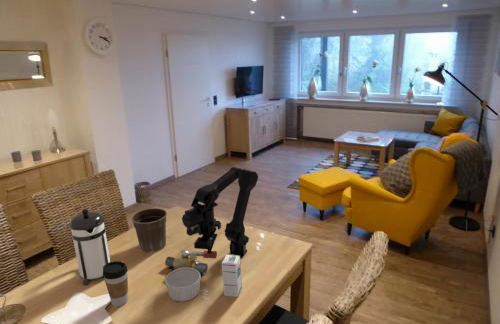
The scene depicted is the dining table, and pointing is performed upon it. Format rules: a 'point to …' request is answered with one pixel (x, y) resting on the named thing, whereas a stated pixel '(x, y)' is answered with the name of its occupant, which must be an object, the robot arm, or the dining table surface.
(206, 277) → the dining table surface
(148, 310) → the dining table surface
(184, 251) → the valve lever
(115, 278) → the coffee cup
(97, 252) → the coffee press
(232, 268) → the syrup box
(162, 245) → the plant pot
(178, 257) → the valve body
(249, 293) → the dining table surface
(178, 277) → the ramekin
